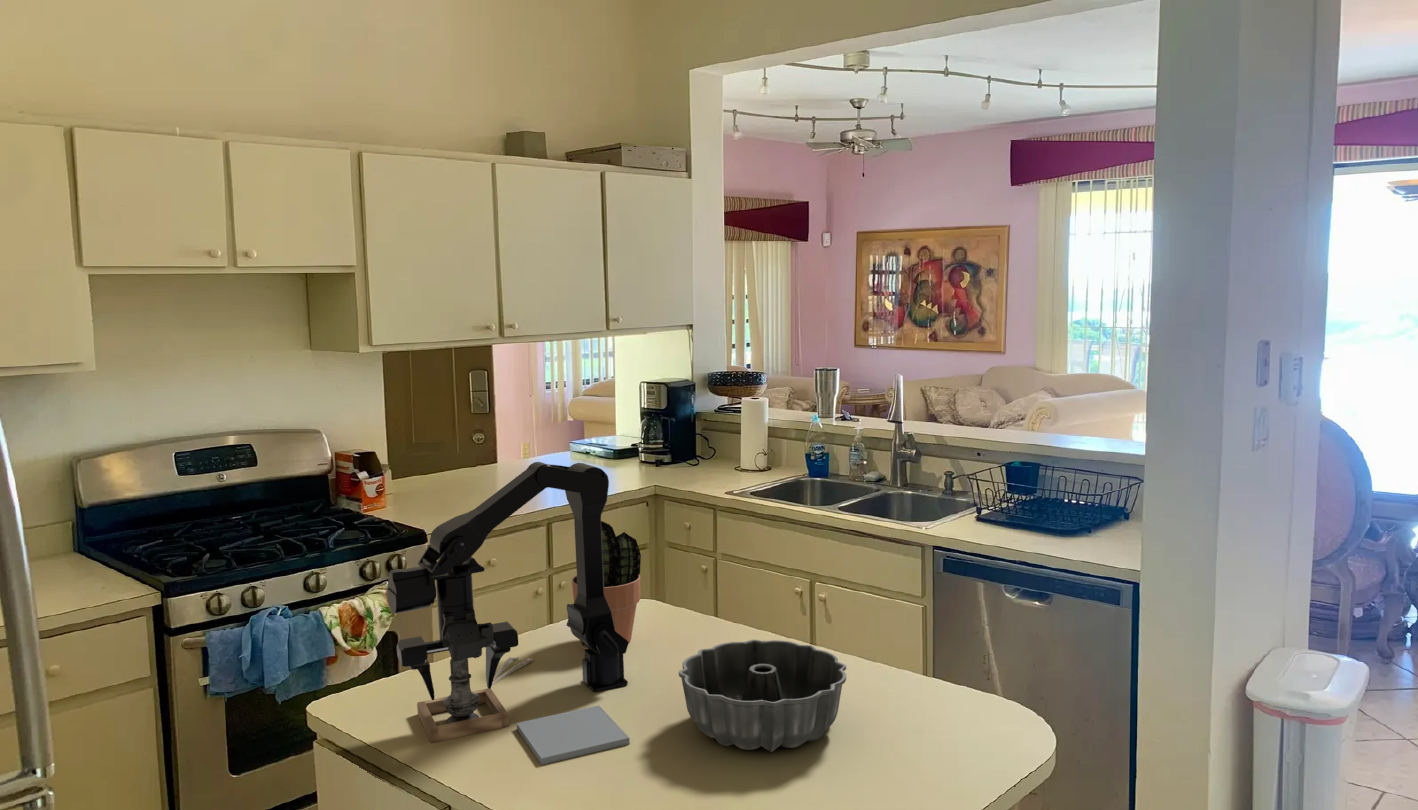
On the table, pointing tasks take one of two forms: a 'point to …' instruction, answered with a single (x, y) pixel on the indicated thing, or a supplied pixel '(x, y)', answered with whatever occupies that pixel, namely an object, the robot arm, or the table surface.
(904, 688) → the table surface
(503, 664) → the tweezers
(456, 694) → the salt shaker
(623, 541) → the potted plant
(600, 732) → the grey mat
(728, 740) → the bundt pan
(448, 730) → the frame
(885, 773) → the table surface
